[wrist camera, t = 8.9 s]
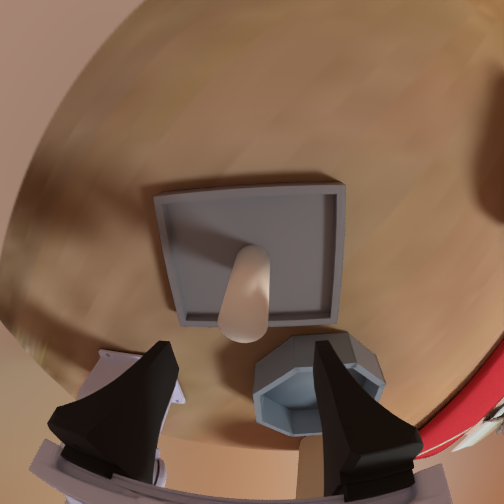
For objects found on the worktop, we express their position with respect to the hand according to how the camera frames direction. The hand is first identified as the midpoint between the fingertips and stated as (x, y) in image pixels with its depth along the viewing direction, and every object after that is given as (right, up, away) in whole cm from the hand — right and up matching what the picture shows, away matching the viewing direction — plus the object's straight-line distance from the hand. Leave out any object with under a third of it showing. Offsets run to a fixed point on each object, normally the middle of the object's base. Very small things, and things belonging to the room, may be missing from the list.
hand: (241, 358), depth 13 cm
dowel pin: (+1, +4, +7) cm, 9 cm away
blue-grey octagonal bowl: (+7, -8, +13) cm, 17 cm away
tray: (+1, +5, +8) cm, 10 cm away
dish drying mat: (+39, -15, +15) cm, 45 cm away
